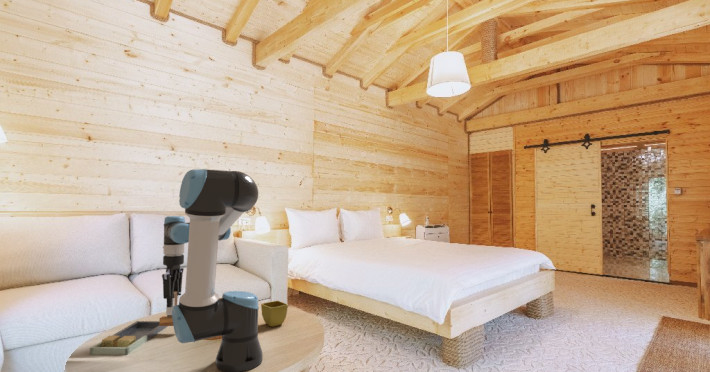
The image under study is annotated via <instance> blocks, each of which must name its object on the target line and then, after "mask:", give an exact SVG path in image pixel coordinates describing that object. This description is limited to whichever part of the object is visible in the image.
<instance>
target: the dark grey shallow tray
mask: <svg viewBox="0 0 710 372" xmlns="http://www.w3.org/2000/svg"><path fill="white" fill-rule="evenodd" d="M166 328H168V326H159V320H157V321H156V320H155V321H153V320H152V321H151V320H145V321H144V320H137V321H134V322H133V323H131V324H130V325H128V326H126V327H124V328H122V329H121V330H119V331H117V332H115V333H114V334H113V335H115V336H120V338H122V337H124V336H136V340H135V341H137V340H138V339H140V338H141V337H143V336H147V341H146V342H148V341H149V340H150V339H152V338H153V337H155V336H156V335H158V334H159V333H160V332H162V331H164V330H165V329H166Z"/></svg>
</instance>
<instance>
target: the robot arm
mask: <svg viewBox="0 0 710 372" xmlns="http://www.w3.org/2000/svg"><path fill="white" fill-rule="evenodd" d="M179 188H180V190H179V197H178V198H179V201H178V203H179V206H180V207H181V208H182V209H184V214H185V215H186V216H187V217H188V218H189V222H186V219H185V217H184V216H183V215H168V216H166V217H164V223H163V247H162V249H163V257H162V262H163V263H162V265H163V266H166V269H165V273H163V274H161V277H162V289H163V290H162V291H163V294H162V295H163V299H164V300H166V307H165V309H166V314H165V316H167V315H172V319H173V326H172V327H173V330H174V334H175V336H176V339H177V341H178V342H179V343H181V344H188V343H195V342H199V341H204V340H207V339H213V338H216V337H221V342H220V345H219V348H218V351H217V354H216V357H215V367H216V368H217V370H220V371H223V372H245V371H249V370H252V369H254V368H256V367H258V366H259V365H261V363H262V362H263V358H264V357H263V356H264V355H263V350H262V347H261V344H260V343H261V342H260V340H259V336H258V335H259V334H258V333H259V331H258V330H259V328H258V327H259V308H260V307H259V298H258V296H257V295H256V294H255V293H253V292H249V291H241V290H231V291H225V292H223V293H222V296H221V298H220V297H219V294H218V293H216V292H215V290H216V289H215V287H216V275H217V274H216V273H217V262H218V261H217V260H218V248H219V242H221V241H224V240H229V238H230V236H231V233H232V231H231V229H232V226H233V225H234V223H235V222H237V220H238V219H240V217H241V216H242V215H243V214H244V213H246V212H249V211H250V210H251V209H252V208H253V207H254V206H256V204H257V201H258V199H259V189H258V185H257V183H256V181H255V180H254V179H253V178H252V177H251V176H249V175H248V174H247V173H244V172H242V171H237V170H221V169H217V170H216V169H205V168H201V169H200V168H199V169H198V168H197V169H189V170H188V171H187V172H186V173H185V174H184V176H183V178H182V181H181V184H180V187H179ZM187 243H188V245H187V258H186V271H185V273H186V274H185V275H186V276H185V290H184V293H183V294H182V288H183V287H182V285H183V273H184V269H185V268H184V267H181V265H183V264H184V263H185V262H184V261H185V255H184V254H185V244H187ZM174 291H177V305H175V306H174V298H173V295H174ZM179 296H180V297H179Z"/></svg>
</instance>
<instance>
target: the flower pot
mask: <svg viewBox="0 0 710 372" xmlns="http://www.w3.org/2000/svg"><path fill="white" fill-rule="evenodd" d="M260 305H261V306H260V309H261V315H262V318H263V322H264V323H265V324H266V325H267V326H270V327H271V328H273V327H277V326H281V325H283V323H285V320H286V317H287V313H288V307H289V304H288V303H286V302H283V301H281V300H273V301H268V302H264V303H260Z"/></svg>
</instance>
